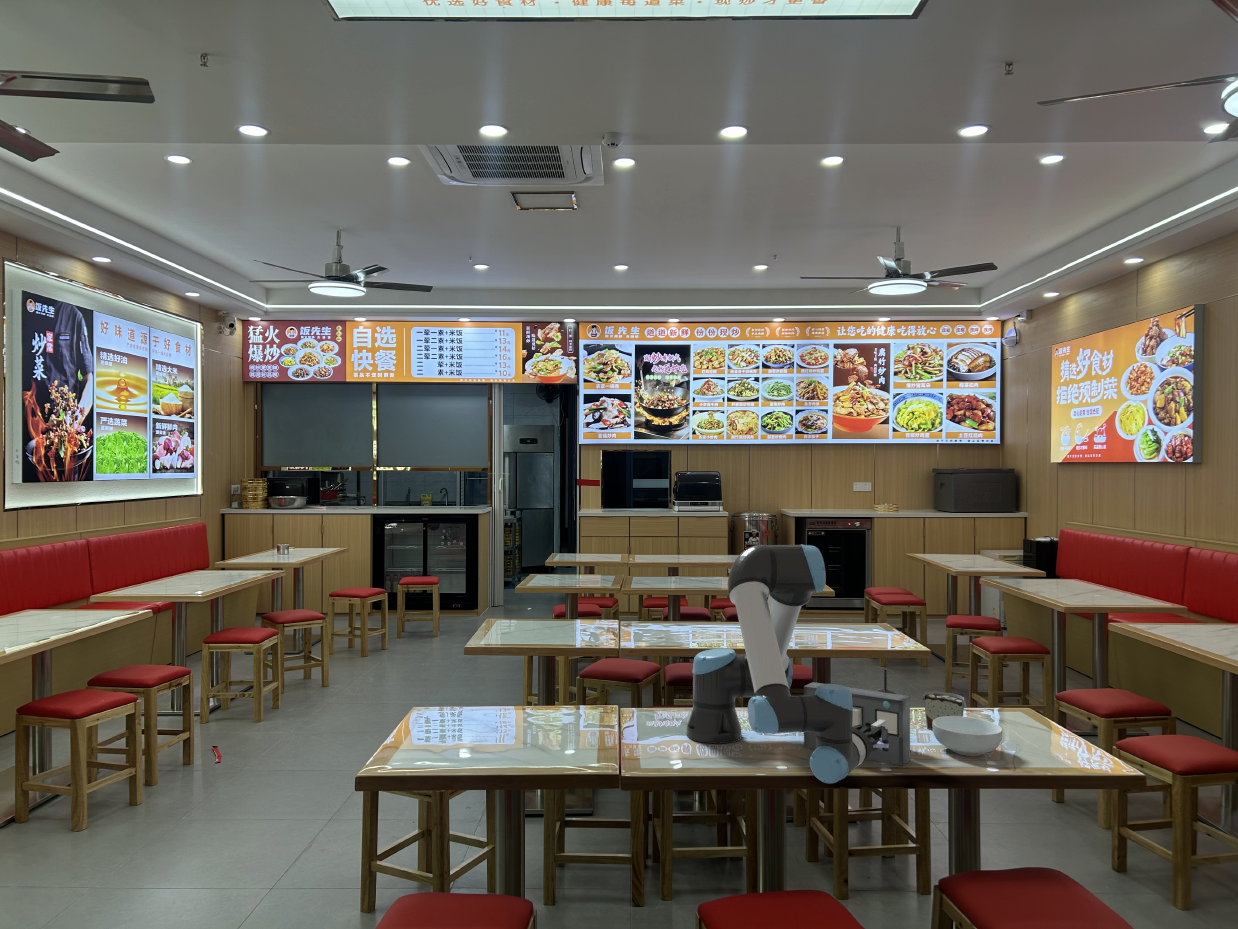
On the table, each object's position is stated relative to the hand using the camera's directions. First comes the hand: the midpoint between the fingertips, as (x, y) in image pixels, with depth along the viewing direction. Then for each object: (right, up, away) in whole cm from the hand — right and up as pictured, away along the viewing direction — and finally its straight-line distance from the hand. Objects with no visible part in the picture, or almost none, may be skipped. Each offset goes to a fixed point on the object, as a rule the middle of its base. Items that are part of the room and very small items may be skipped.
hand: (882, 725), depth 204 cm
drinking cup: (+7, -11, +18) cm, 22 cm away
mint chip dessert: (+29, -12, +33) cm, 45 cm away
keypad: (-4, -11, +11) cm, 15 cm away
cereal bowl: (+26, -11, +13) cm, 31 cm away
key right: (+3, -3, +5) cm, 6 cm away
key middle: (-6, -3, +8) cm, 10 cm away
